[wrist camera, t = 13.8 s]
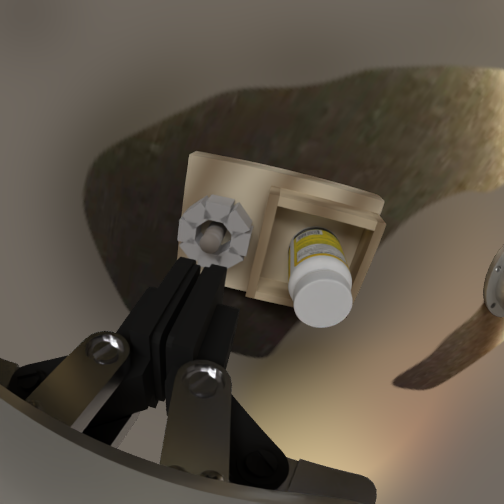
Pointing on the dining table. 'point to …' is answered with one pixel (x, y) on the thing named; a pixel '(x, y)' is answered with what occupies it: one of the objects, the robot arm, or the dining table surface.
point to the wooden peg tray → (282, 220)
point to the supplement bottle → (319, 277)
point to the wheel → (219, 212)
